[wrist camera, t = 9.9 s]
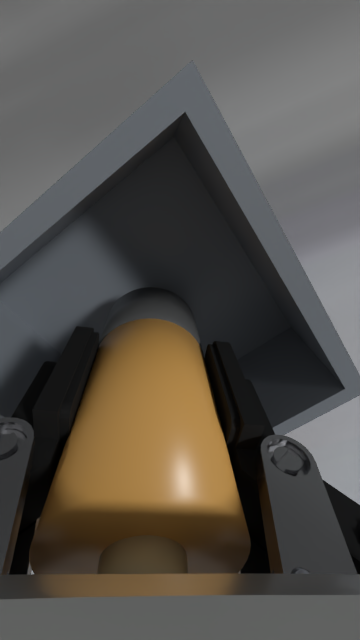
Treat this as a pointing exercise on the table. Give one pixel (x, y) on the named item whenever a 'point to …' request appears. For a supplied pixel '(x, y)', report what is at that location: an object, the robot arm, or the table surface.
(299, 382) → the bin
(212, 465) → the cylinder
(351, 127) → the table surface
